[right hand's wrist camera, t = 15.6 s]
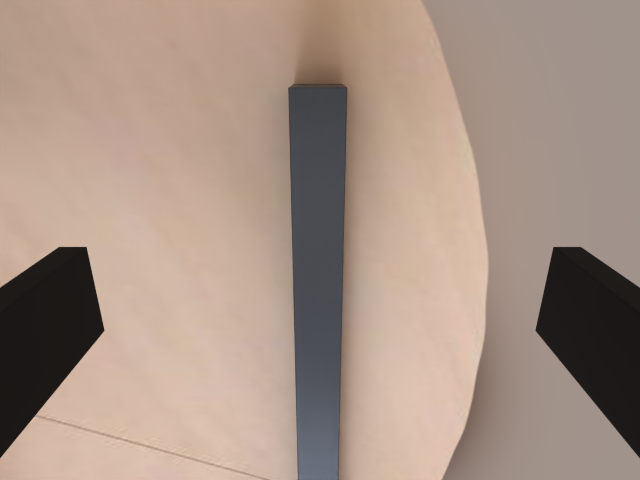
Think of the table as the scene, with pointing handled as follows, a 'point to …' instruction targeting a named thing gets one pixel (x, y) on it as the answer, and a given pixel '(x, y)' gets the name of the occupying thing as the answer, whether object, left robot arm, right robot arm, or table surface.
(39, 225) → the table surface
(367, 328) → the table surface
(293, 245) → the beam
